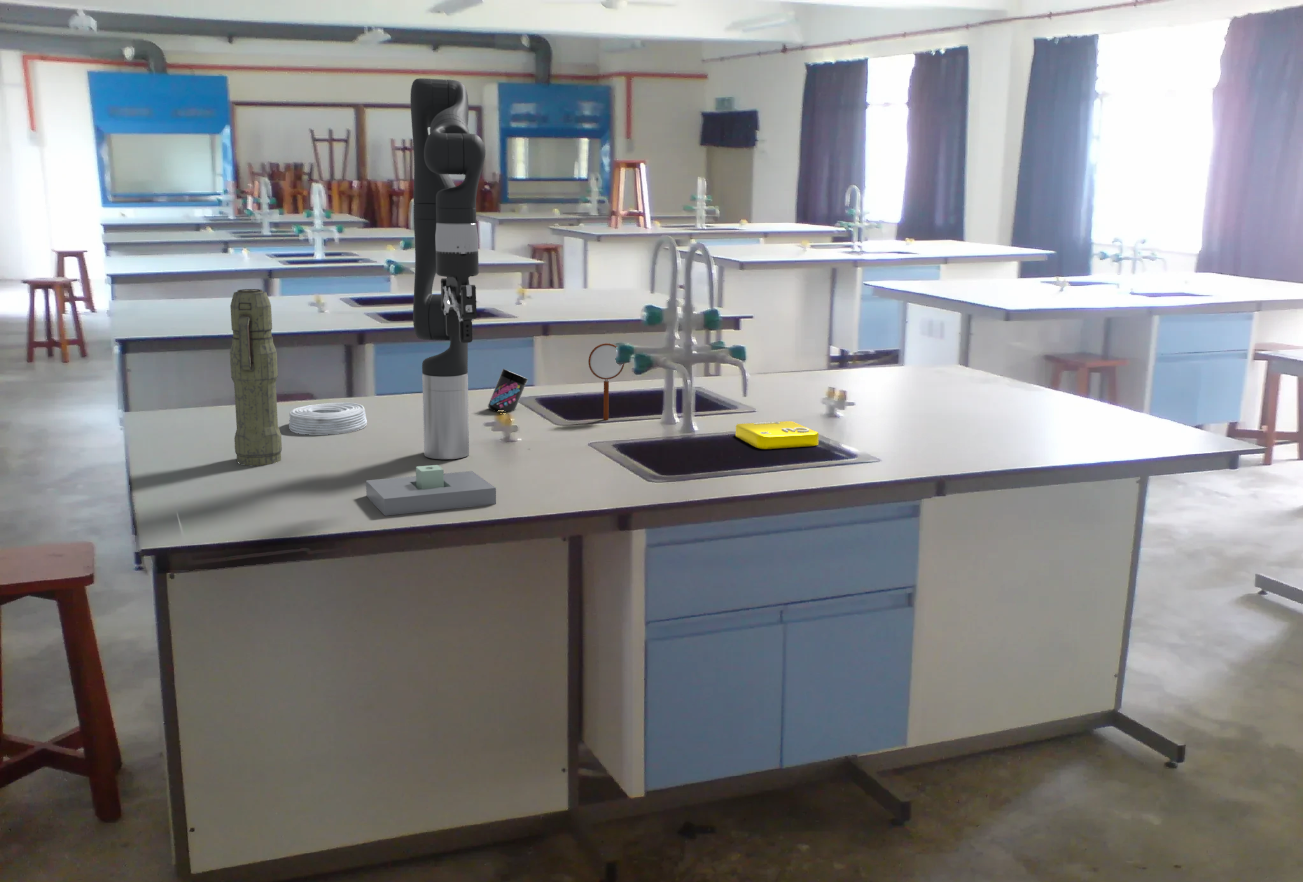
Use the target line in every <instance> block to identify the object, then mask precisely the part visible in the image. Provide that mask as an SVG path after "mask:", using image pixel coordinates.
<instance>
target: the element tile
mask: <svg viewBox="0 0 1303 882" xmlns="http://www.w3.org/2000/svg"><path fill="white" fill-rule="evenodd" d="M819 436H820V433H819V431H816V430H813V429H811V428H809V427H807V426H804V425H802V424H799V423H796V422H795V421H792V420H791V421H790V420H787V421H785V420H784V421H766V422H763V421H761V422H751V423H750V422H747V423H745V422H744V423H737V424H736V425H735V437H736V438H738V439H739V440H741V441H743V442H745V443H746V444H749V445H750V446H752V447H755V448H757V449H761V450H772V449H787V448H802V447H814V446H818V445H819V441H820V437H819Z"/></svg>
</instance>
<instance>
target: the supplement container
mask: <svg viewBox="0 0 1303 882" xmlns="http://www.w3.org/2000/svg"><path fill="white" fill-rule="evenodd" d="M528 380H529V379H528V378H527V377H524V376H522V375H520V374H517V373H515V372H512V371H510V370H508V369H505V368H502V370H501V372H500V375H499V378H498V380H497V382H496V385H495V387H494V390H493V392H492V395H491V397H490V399H489V401H488V404H487V408H488V409H489V410H491V411H493V412H496V413H498V412H497V411H498V410H504V411H506V412H505V413H508V412H509V413H510V412H514V411H515V410H516V408H517V406H518V404H519V401H520V399H521V397H522V396H523V395H522V394H523V392H524V391H525V387H526V386H527V383H528Z"/></svg>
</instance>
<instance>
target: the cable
mask: <svg viewBox="0 0 1303 882" xmlns="http://www.w3.org/2000/svg"><path fill="white" fill-rule="evenodd" d="M288 421H289V423H288V424H289V425H288V427H289V428H288V429H290V430H289V431H291V432H292V433H294V434H295V433H296V434H298V433H299V434H298V435H305V434H309V435H308V436H329V435H328V434H335V435H340V434H339V433H344V434H349V433H348V432H350V433H353V432H352V431H354V432H357V430H358V431H360V430H362V429H364V428H366V427H365V426H367V424H368V420H367V415H366V409H365V407H364V406H363V405H362V404H360V403H355V402H328V403H327V402H326V403H319V404H310V405H309V404H308V405H304V406H299V407H297V408H296V407H295V408H293V409H291V410H290V412H289V419H288ZM359 429H360V430H359Z"/></svg>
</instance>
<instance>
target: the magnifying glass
mask: <svg viewBox="0 0 1303 882" xmlns="http://www.w3.org/2000/svg"><path fill="white" fill-rule="evenodd" d="M616 347H618V346H617V345H615V344H614V343H610V342H609V343H607V342H605V343H601V344H599V345H596V346H595V347H594V348H593V349H592V350H591V352H590V353H589V356H588V368H589V370H590V372H591V373H592V375H594V376H595V377H596V378H598V379H601V380H603V421H609V411H610V410H609V408H610V407H609V405H610V404H609V403H610V402H609V400H610V398H609V397H610V394H609V393H610V390H609V389H610V388H609V387H610V386H609V385H610V382H609V380H611V379H614V378H616V377H618V376H619V375H620V374H621V372H622V371H623V369H624V367H625V363H624V364H623V365H621V366H619V365H618V364H617V363H616V360H615V358H616Z"/></svg>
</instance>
